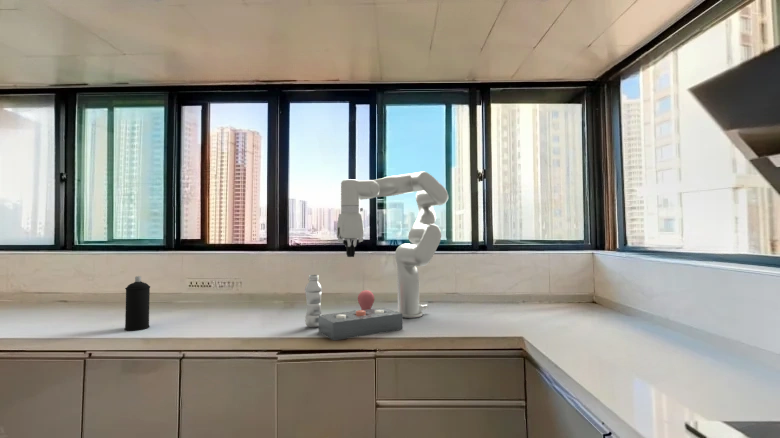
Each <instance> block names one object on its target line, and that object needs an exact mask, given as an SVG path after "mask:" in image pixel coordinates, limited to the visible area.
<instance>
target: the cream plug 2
mask: <svg viewBox="0 0 780 438" xmlns="http://www.w3.org/2000/svg"><path fill="white" fill-rule="evenodd" d="M375 313H376V314H380V313H384V310H375Z"/></svg>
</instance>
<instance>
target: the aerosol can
mask: <svg viewBox="0 0 780 438" xmlns="http://www.w3.org/2000/svg"><path fill="white" fill-rule="evenodd" d="M150 288H151V286H150V285H149V284H148V283H147V282H144V281H142V276H141V275H140V276H139V275H138V276H135V277H134V282H131V283H130V284H128V285H127V286H126V287H125V315H124V316H125V323H124V331H127V332H136V331H137V332H138V331H142V330H147V329H149V328H150V327H151V326H150V293H151V292H150Z"/></svg>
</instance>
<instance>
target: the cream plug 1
mask: <svg viewBox="0 0 780 438" xmlns="http://www.w3.org/2000/svg"><path fill="white" fill-rule="evenodd" d="M336 318H337V319H340V318H346V315H344V314H340V315H336Z"/></svg>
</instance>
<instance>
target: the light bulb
mask: <svg viewBox="0 0 780 438" xmlns="http://www.w3.org/2000/svg"><path fill="white" fill-rule="evenodd" d="M357 301H358V305H359V306H360V308H361V309H360V310H367V309H372V306H373V304H374V302H375V294H373V292H372V291H371V290H368V289H365V290H364V289H363V290H362V291H361V292H360V293H358V296H357Z"/></svg>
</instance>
